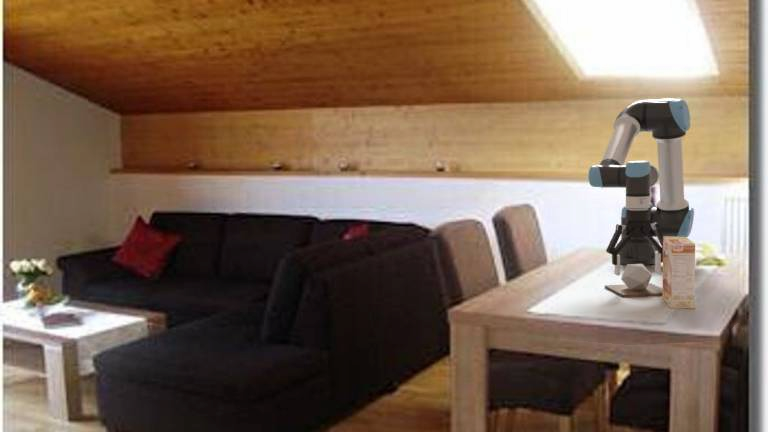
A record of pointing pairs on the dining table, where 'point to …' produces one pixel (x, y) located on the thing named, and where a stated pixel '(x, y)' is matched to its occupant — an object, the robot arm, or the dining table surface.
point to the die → (636, 276)
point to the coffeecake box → (678, 272)
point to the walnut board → (635, 291)
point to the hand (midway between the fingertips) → (637, 273)
